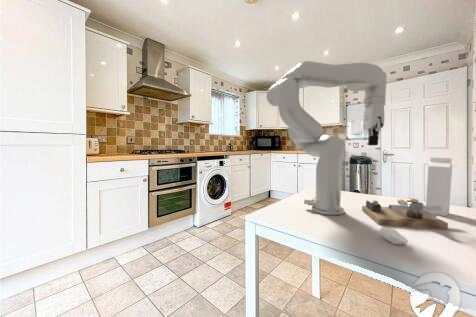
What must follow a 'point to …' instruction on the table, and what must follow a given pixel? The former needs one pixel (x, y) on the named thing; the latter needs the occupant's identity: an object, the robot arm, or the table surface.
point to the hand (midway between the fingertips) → (373, 145)
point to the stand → (399, 217)
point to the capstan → (415, 208)
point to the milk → (439, 184)
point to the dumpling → (393, 235)
